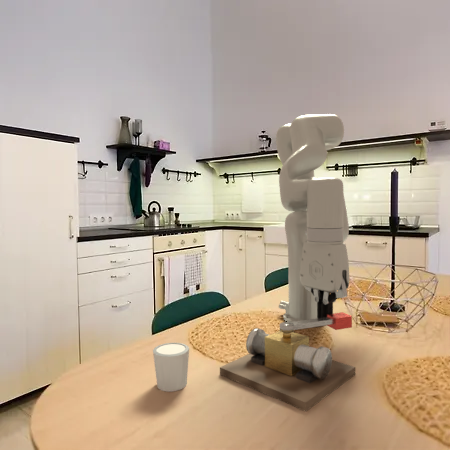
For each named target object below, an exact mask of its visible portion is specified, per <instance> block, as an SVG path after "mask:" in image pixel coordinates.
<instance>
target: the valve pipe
mask: <svg viewBox="0 0 450 450" xmlns="http://www.w3.org/2000/svg"><path fill="white" fill-rule="evenodd" d="M245 345H246V350H247V351H246V352H248V354H251V355H254V356H252V357H251V362H253V363H256V364H259V365H261V366H263V365H265V367H268V368H271V369H273V370H276V371H279V372H282V373H284V374H287V375H290V376H293V375H295V374H296V378H297V379H300V380H302V381H305V382H308V383H311V382H313V381H315V380H316V379H318V378H320V379H324V378H325V377H326V376H327V375H328V373H329V371H330V368H331V364H332V360H333V355H332V351H331V350H330V348H329V347H326V346H319V347H313V346H310V336H308V335H305V334H300V333H297V332H295V331H294V332H291V333H284V332H281V331H280V330H278V331H276V332H273V333H271V334H268V333H266V331H265V330H264V329H262V328H258V327H256V328H253V329H251V331H250V332H249V334H248V335H247V337H246V343H245Z"/></svg>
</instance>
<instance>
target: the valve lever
mask: <svg viewBox="0 0 450 450" xmlns="http://www.w3.org/2000/svg"><path fill="white" fill-rule="evenodd" d="M323 326H327V327H329V328H331V329H333V330H335V331H338V330H343V329H344V330H345V329H349V328H352V327H353V316H352V315H351V314H348V313H346V312H343V311H342V312H335V313H334V312H333V314H327V317H323V318H316V319H309V320H302V321H296V322H286V321H284V322H283V321H282V322H280V323H279V331H281V332H284V333H291V332H294V333H295V331H296V330H303V329H308V328H310V329H311V328H316V327H323Z"/></svg>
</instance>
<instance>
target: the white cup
mask: <svg viewBox="0 0 450 450" xmlns="http://www.w3.org/2000/svg"><path fill="white" fill-rule="evenodd" d="M152 353H153V362H154V363H153V364H154V372H155V377H156V378H155V379H156V386H157V389H159V391H162V392H169V393H170V392H177V391H180V390H183V389H184V388H185V387H186V386H187V384H188V371H189V356H190V347H189V345H187V344H185V343H182V342H167V343H166V342H165V343H162V344H159V345H157V346H155V347H154V348H153V349H152Z"/></svg>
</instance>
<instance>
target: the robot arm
mask: <svg viewBox="0 0 450 450" xmlns="http://www.w3.org/2000/svg"><path fill="white" fill-rule="evenodd" d="M291 121H292V122H291V123H286V124H284V125H282V126H280V127H279V128H278V129H277V131H276V134H275V135H276V137H275V142H276V143H275V144H276V145H275V146H276V150H277V154H278V158H279V160H280V162H281V165H282V166H281V169H280V171H279V176H278V177H279V178H278V185H279V186H278V187H279V197H280V201H281V202H280V203H281V205H282V207H283V208H284V209H285V210H286V211H288V212H290V213H289V214H287V216H286V218H285V221H284V231H285V237H286V243H287V255H288V257H287V259H288V261H287V262H288V271H287V272H288V301H285V300H280V303H279V304H278V309H280V310H285V313H284V314H283V315H282V316H283V317H282V318H284V319H283V321H284V320H285V321H284V322H286V321H287V322H296V321H302V320H309V319H316V318H323V317H327V314H334V303H335V302H336V300H337V299H343V298H347V297H348V291H347V289H349V285H350V265H349V263H350V262H349V257H348V256H349V255H348V251H347V250H348V249H347V244H346V243H345V242H346V240H347V239H348V237H349V231H350V230H349V229H350V226H349V218H348V213H347V207H346V201H345V195H344V194H345V193H344V182H343V180H342V179H340V178H338V177H318V178H317V177H315V171H316V170H317V169H319V168H321V166H323V165H324V163H325V162H326V160H327V158H328V151H330V150H332V149H334V148H336V147H338V146H339V145H340V144H341V143H342V141H343V139H344V135H345V127H344V126H345V125H344V122H343V121H342V119H341V118H340V116H338V115H337V114H331V113H329V114H328V113H327V114H326V113H325V114H305V115H300V116H297V117H295V118H294V119H293V120H291Z"/></svg>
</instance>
